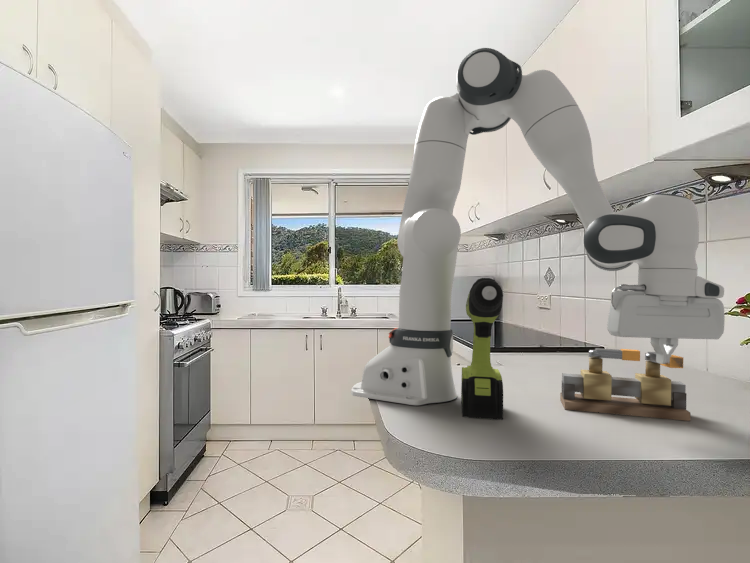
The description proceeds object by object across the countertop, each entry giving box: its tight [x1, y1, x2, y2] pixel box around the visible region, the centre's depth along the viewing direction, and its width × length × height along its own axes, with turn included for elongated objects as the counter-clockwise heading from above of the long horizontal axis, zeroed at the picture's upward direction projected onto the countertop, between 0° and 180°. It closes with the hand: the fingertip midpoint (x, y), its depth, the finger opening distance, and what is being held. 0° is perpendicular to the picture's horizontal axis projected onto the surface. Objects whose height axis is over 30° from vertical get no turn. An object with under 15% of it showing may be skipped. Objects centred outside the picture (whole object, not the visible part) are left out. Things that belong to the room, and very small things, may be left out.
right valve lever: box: [644, 351, 684, 369], centre depth 83 cm, size 9×3×2 cm, turn 177°
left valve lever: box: [588, 347, 641, 362], centre depth 88 cm, size 9×3×2 cm, turn 71°
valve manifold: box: [559, 357, 691, 422], centre depth 88 cm, size 21×8×10 cm, turn 73°
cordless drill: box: [460, 277, 504, 420], centre depth 81 cm, size 23×7×25 cm, turn 170°
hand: (663, 363), depth 80 cm, fingers closed, pressing on right valve lever
